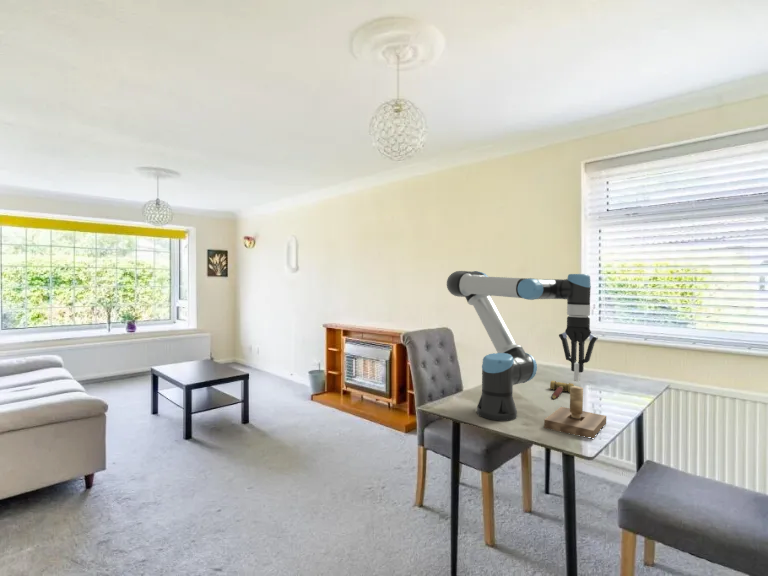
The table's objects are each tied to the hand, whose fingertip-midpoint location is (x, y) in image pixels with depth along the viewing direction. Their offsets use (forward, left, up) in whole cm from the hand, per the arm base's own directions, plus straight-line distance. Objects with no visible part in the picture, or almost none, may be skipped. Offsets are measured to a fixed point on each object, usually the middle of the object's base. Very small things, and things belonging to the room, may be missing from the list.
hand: (577, 380), depth 146 cm
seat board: (0, 0, -17) cm, 17 cm away
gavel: (-18, +39, -17) cm, 47 cm away
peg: (0, 0, -17) cm, 17 cm away
